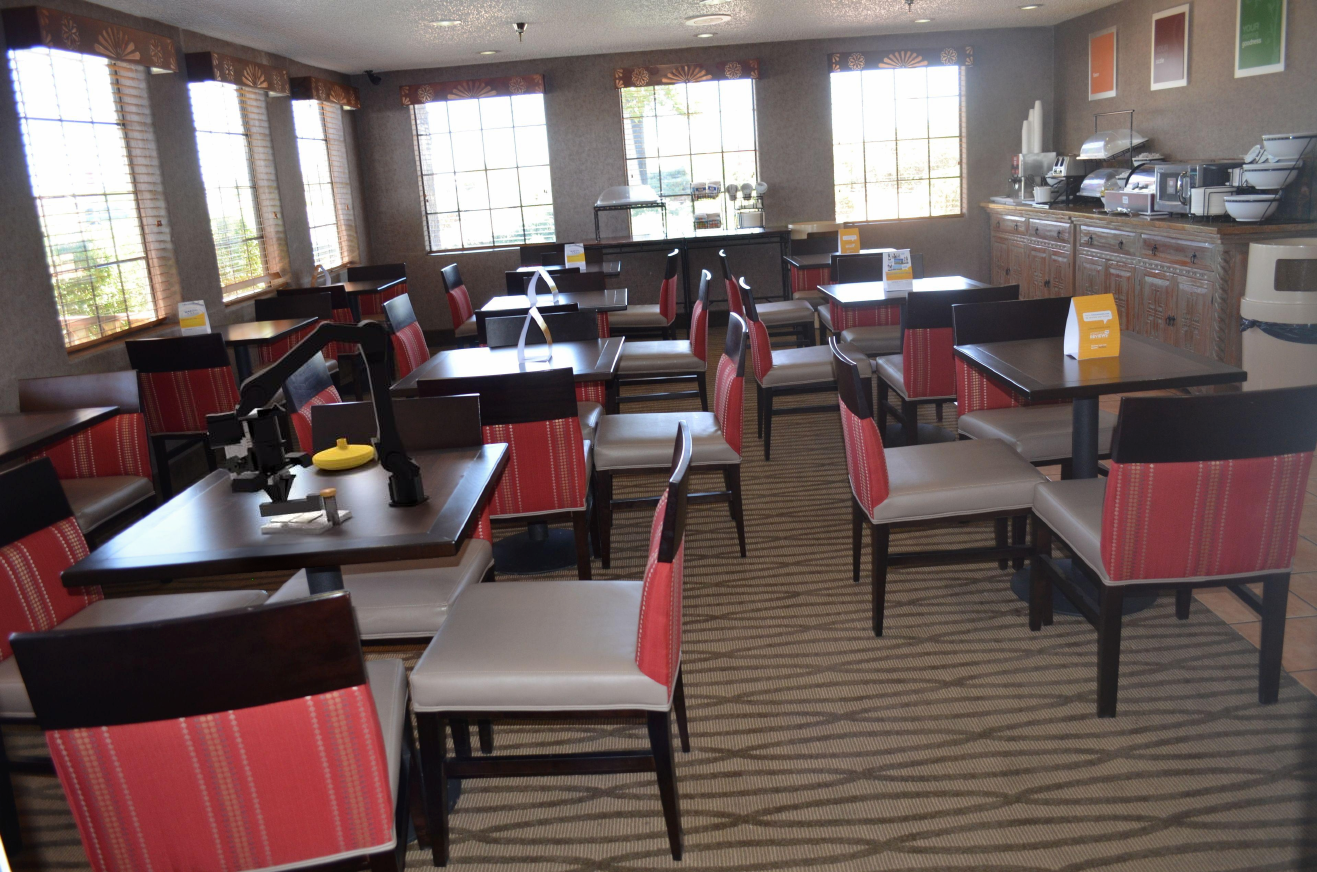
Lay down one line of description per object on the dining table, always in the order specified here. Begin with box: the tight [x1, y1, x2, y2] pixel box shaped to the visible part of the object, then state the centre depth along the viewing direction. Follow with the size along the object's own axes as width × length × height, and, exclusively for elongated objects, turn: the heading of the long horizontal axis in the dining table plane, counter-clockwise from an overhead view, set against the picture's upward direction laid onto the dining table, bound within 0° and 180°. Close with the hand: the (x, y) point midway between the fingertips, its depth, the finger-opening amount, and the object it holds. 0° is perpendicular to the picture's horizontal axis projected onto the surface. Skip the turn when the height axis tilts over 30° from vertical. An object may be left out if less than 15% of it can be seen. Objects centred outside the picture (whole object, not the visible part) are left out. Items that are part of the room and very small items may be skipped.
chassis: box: [260, 494, 353, 535], centre depth 197 cm, size 15×11×6 cm
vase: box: [312, 438, 374, 471], centre depth 244 cm, size 16×16×7 cm
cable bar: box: [258, 487, 338, 518], centre depth 194 cm, size 15×3×4 cm, turn 94°
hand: (281, 511), depth 197 cm, fingers closed
